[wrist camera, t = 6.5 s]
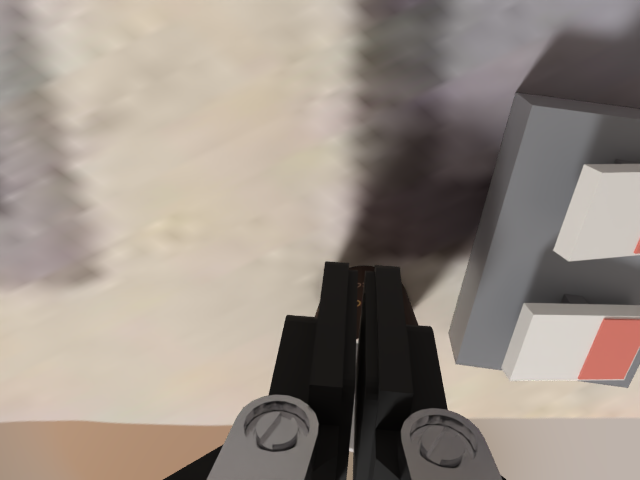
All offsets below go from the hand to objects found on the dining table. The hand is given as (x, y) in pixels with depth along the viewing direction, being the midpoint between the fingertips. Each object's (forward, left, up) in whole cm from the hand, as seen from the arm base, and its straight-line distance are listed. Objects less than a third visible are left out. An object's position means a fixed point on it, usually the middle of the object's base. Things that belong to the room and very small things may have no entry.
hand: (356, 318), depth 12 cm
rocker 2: (+12, +15, -18) cm, 26 cm away
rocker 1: (+3, +15, -18) cm, 24 cm away
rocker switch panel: (+7, +15, -23) cm, 29 cm away
